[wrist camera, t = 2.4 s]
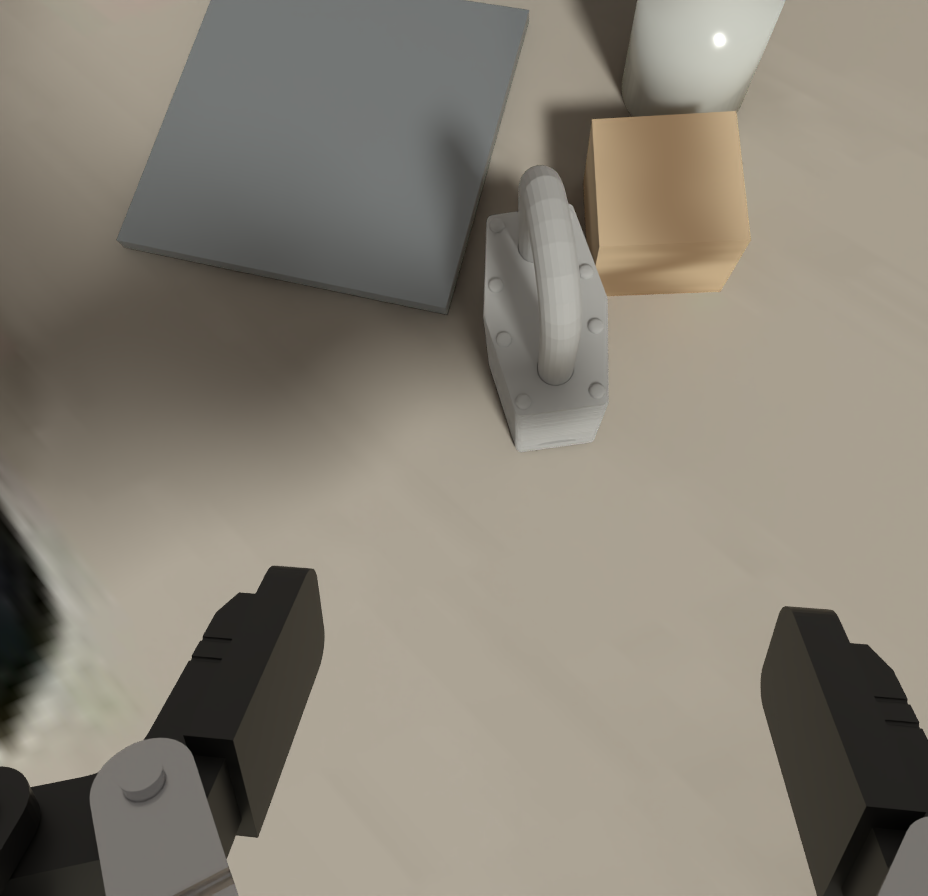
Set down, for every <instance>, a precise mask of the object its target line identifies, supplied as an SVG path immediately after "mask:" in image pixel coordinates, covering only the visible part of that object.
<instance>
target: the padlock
mask: <svg viewBox="0 0 928 896" xmlns="http://www.w3.org/2000/svg"><path fill="white" fill-rule="evenodd" d="M483 320H484V327H485V336H486V343H487V352H488V360H489V366H490V370H491V373H492V376H493V379H494V382H495V385H496V388H497V391H498V394H499V397H500V401H501V404H502V407H503V410H504V413H505V416H506V419H507V422H508V425H509V428H510V432H511V435H512V438H513V441H514V444H515V447H516V450H517V451H519V452H525V451H532V450H539V449H547V448H554V447H561V446H568V445H576V444H583V443H590V442H592V441H594V438H595V436H596V433H597V431H598V428H599V426H600V423H601V421H602V418H603V415H604V413H605V410H606V408H607V405H608V299H607V295H606V293H605V290H604V287H603V285H602V282H601V279H600V277H599V274H598V271H597V269H596V266H595V263H594V261H593V258H592V255H591V253H590V250H589V247H588V245H587V242H586V239H585V237H584V234H583V231H582V229H581V226H580V223H579V221H578V218H577V215H576V213H575V210H574V207H573V206H572V205H571V204H568V201H567V196H566V192H565V188H564V185H563V183H562V180H561V178H560V176H559V175H558V173H557V172H556V171H555V170H554V169H552V168H550V167H547V166H544V165H537V166H533V167H531V168H529V169H528V170H527V171H525V173H524V174H523V175H522V177H521V180H520V183H519V196H518V211H516V212H509V213H503V214H496V215H491V216H489V217H488V219H487V221H486V249H485V278H484V306H483Z"/></svg>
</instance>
